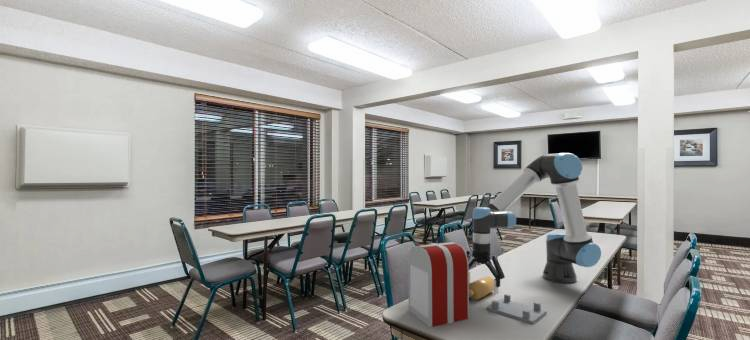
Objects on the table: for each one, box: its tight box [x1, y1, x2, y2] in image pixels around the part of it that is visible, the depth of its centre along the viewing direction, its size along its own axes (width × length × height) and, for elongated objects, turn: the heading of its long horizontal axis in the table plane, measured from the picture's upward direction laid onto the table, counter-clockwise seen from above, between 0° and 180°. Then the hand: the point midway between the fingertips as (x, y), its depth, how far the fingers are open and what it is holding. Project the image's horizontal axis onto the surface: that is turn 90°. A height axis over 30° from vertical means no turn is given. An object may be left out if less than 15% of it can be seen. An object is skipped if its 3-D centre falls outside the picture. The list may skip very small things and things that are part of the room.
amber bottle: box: [469, 275, 495, 301], centre depth 147 cm, size 19×7×7 cm, turn 134°
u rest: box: [486, 293, 548, 325], centre depth 131 cm, size 18×13×4 cm
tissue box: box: [407, 241, 470, 328], centre depth 129 cm, size 17×18×27 cm
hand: (481, 290), depth 148 cm, fingers open, 13 cm apart
